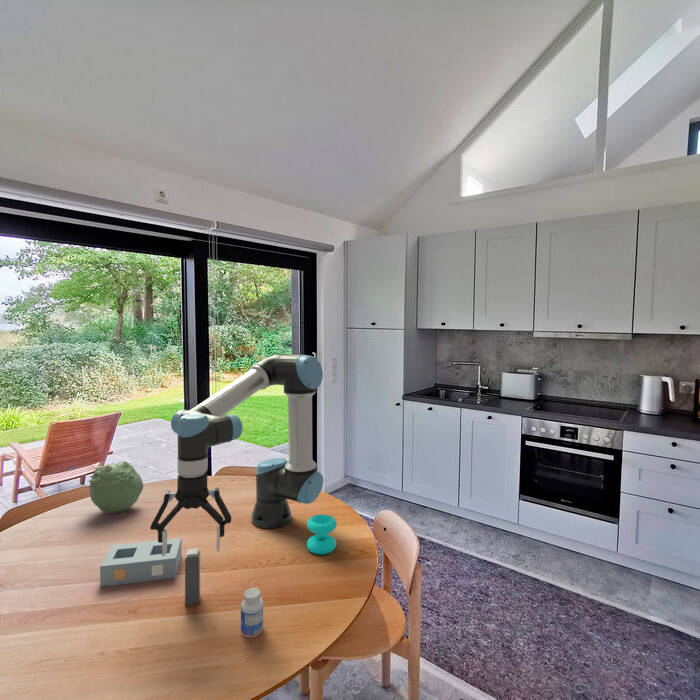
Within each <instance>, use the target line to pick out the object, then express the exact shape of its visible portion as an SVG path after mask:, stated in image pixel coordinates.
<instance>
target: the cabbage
mask: <svg viewBox="0 0 700 700" xmlns="http://www.w3.org/2000/svg"><path fill="white" fill-rule="evenodd" d="M92 474H93V475H92ZM92 474H91V476H89V478H90V480H88V481H87V482H88V483H89V496H90V500H91V502H92V503H93V505H94V506H96V507H97V508H98V509H99V510H101V512H104V513H107V514H111V515H112V514H113V515H115V514H120V513H123V512H125V511H127V510H129V509H131V508H132V506H134V505H135V503H137V501H138V499H139V497H140V496H141V494H142V492H143V489H144V483H143V481H142V477H141V475H139V473H138V472H137V471H136V469H135V468H134V466H133V465H132V464H130V463H129V462H127V461H120V462H117V463H110V464H105V465H101V466H97V467H95V469H94V472H93V473H92Z"/></svg>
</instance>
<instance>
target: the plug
mask: <svg viewBox="0 0 700 700" xmlns="http://www.w3.org/2000/svg"><path fill="white" fill-rule="evenodd" d="M200 599H201V549H200V548H199V547H197V548H188V549H187V551H186V553H185V557H184V606H186V607H188V606H191V605H199V604H200V601H201V600H200Z"/></svg>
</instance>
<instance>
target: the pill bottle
mask: <svg viewBox="0 0 700 700" xmlns="http://www.w3.org/2000/svg"><path fill="white" fill-rule="evenodd" d="M263 630H264V600H263V598H262V597H261V590H260V589H259V588H257V587H250V588H247V589H246V590H244V592H243V600H242V601H241V604H240V633H241V634H242V636H243V637H245V638H248V639H249V638H256V637H258V636H259V635H261V633H263Z"/></svg>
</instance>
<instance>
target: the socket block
mask: <svg viewBox="0 0 700 700" xmlns="http://www.w3.org/2000/svg"><path fill="white" fill-rule="evenodd" d="M182 551H183V550H182V538H181V537H179V538H170V539H168V538H167V552H166V555H165V556H162V543H159V542H158V539H157V540H148V541H138V542H127V543H118V544H112V546H111V547H110V548H109V550H108V552H107V554H106V556H105V557H104V559H103V560H102V562H101V564H100V565H99V575H100V577H99V579H100V580H99V582H100V583H99V585H100V587H101V588H103V587H110V586H119V585H126V584H128V585H129V584H134V583H143V582H145V583H146V582H151V581H160V580H167V579H176V578H177V576H178V575H177V574H178V571H179V566H180V563H181V559H182Z"/></svg>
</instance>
